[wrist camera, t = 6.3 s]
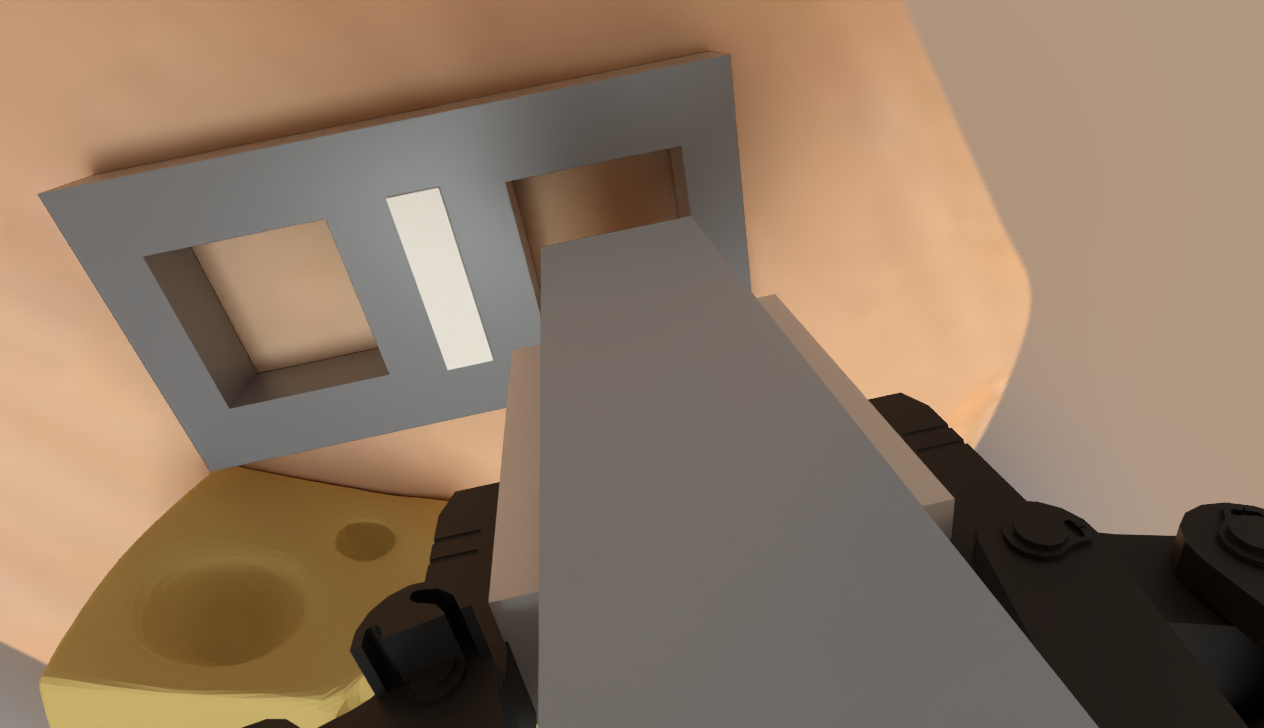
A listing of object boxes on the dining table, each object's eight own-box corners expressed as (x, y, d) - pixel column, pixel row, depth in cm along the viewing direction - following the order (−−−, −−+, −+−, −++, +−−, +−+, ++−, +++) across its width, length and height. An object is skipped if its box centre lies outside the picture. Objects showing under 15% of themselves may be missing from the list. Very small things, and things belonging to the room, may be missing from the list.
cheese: (466, 496, 28) (434, 712, 19) (419, 662, 32) (374, 899, 24) (201, 448, 25) (23, 673, 17) (188, 636, 30) (41, 892, 21)
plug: (536, 244, 17) (505, 1385, 3) (693, 211, 17) (1468, 1139, 3) (571, 381, 19) (659, 1454, 5) (712, 351, 19) (1218, 1309, 5)
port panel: (91, 175, 20) (35, 195, 18) (710, 51, 21) (730, 54, 19) (238, 432, 25) (209, 473, 23) (738, 325, 26) (757, 354, 23)
